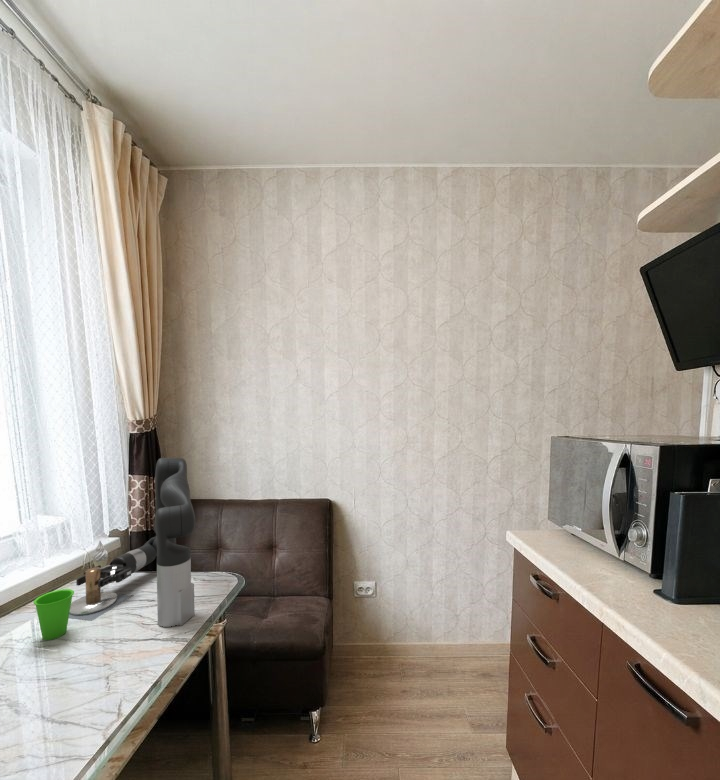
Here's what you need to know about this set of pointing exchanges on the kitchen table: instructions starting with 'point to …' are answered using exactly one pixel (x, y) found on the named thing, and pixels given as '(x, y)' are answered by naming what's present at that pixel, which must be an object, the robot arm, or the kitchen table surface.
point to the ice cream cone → (100, 556)
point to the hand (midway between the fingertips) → (88, 583)
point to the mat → (93, 616)
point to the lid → (92, 596)
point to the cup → (54, 612)
